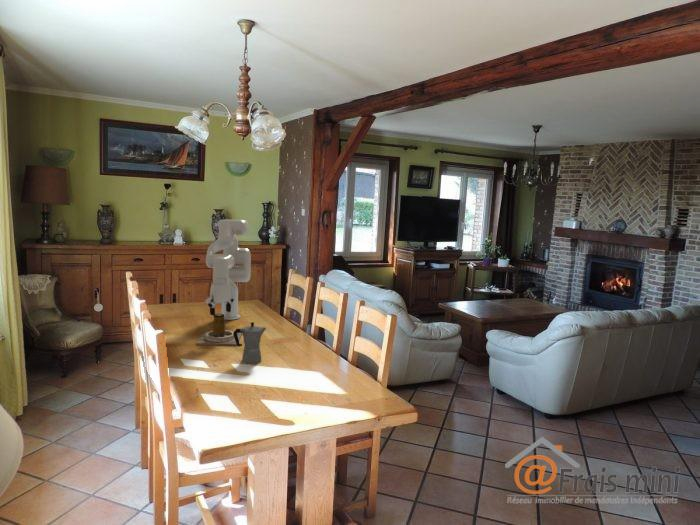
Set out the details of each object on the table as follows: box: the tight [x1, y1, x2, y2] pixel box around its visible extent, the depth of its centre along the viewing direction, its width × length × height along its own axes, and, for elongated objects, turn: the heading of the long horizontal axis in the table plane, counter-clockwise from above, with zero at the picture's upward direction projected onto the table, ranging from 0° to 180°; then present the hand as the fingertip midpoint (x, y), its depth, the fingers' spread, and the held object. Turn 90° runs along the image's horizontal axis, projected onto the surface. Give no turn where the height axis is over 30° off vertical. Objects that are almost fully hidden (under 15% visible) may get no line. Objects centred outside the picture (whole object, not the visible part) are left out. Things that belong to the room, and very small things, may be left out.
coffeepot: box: [233, 321, 267, 365], centre depth 225 cm, size 15×9×18 cm, turn 119°
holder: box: [195, 329, 243, 347], centre depth 255 cm, size 20×20×3 cm
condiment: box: [212, 313, 228, 337], centre depth 254 cm, size 7×8×12 cm
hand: (220, 313), depth 253 cm, fingers open, 9 cm apart
